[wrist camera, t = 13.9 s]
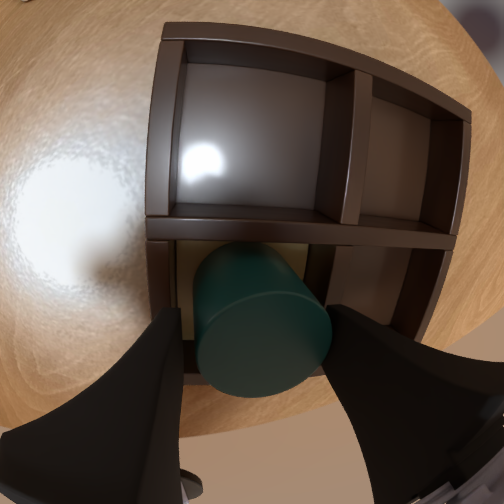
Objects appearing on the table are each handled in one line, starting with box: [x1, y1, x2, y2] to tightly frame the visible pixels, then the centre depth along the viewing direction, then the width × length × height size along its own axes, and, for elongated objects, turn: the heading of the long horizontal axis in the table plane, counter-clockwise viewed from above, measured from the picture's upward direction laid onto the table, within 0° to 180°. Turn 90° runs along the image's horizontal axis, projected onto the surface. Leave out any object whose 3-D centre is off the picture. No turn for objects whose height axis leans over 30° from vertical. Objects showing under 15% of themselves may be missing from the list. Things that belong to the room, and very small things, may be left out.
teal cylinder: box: [193, 242, 332, 398], centre depth 10 cm, size 4×4×4 cm
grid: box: [145, 22, 472, 385], centre depth 11 cm, size 14×14×3 cm
